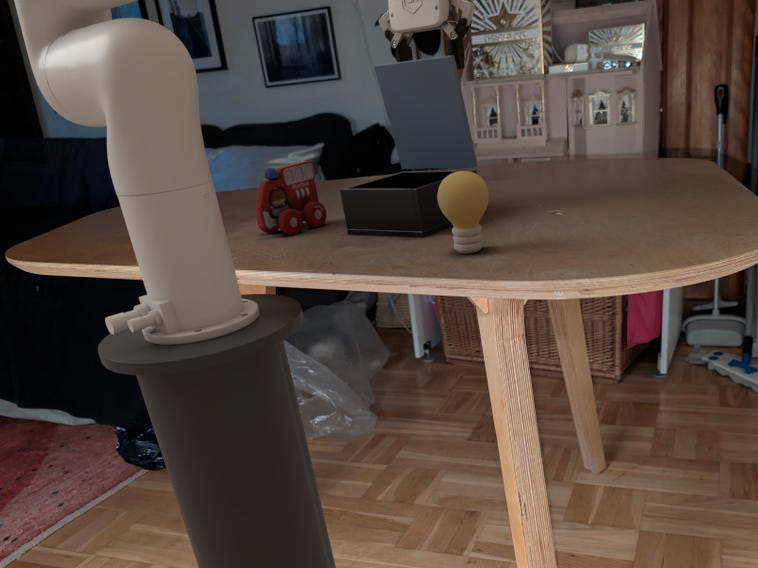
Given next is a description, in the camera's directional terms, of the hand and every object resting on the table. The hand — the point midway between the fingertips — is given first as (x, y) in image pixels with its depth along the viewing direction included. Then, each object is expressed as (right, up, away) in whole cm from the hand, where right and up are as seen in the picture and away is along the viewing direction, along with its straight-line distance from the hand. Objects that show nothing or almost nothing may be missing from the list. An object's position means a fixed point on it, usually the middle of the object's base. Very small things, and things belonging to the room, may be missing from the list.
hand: (431, 71), depth 108 cm
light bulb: (+6, -31, -19) cm, 37 cm away
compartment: (-3, -23, +1) cm, 23 cm away
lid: (-1, -7, 0) cm, 7 cm away
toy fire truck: (-23, -23, +7) cm, 34 cm away
